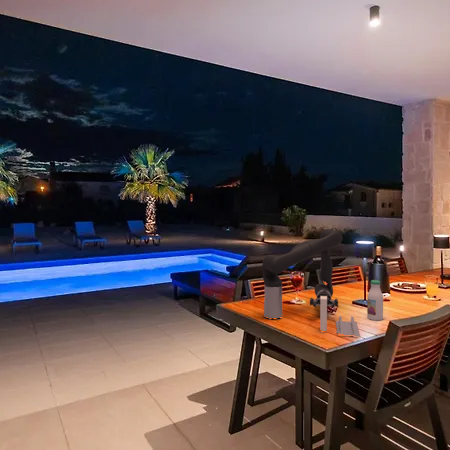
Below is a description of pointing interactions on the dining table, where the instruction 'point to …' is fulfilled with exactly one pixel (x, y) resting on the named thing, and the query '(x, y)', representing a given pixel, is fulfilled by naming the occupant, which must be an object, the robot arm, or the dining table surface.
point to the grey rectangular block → (323, 313)
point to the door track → (347, 327)
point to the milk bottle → (375, 301)
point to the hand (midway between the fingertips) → (323, 305)
